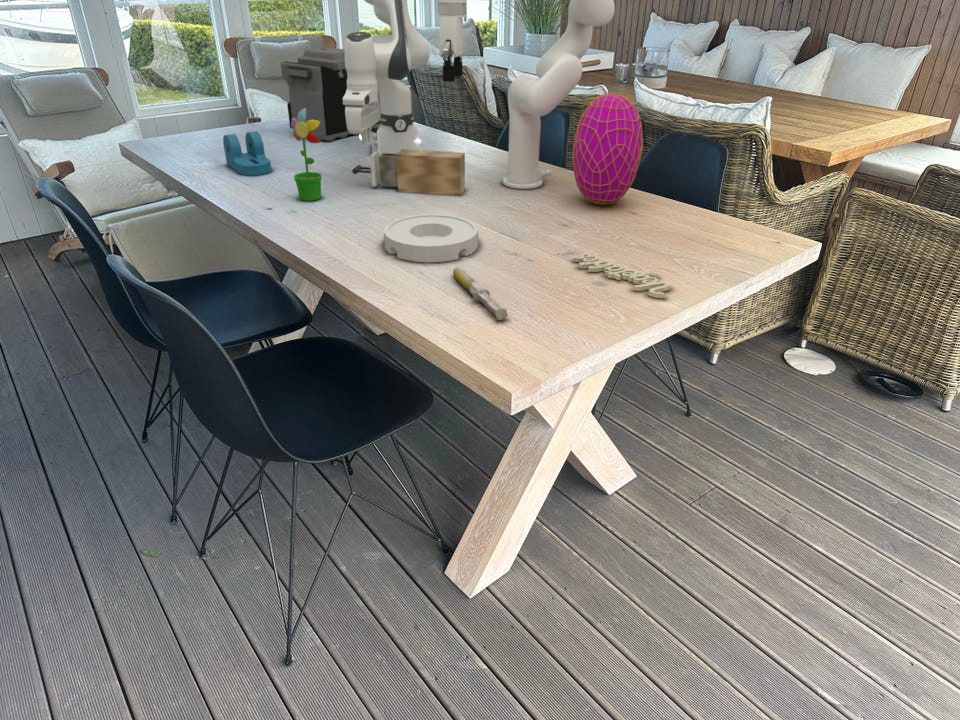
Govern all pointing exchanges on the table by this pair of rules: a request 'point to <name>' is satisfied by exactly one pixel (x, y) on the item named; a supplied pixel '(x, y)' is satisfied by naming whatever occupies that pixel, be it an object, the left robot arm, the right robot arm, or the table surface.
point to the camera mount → (246, 154)
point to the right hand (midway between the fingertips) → (452, 78)
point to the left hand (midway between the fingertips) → (366, 142)
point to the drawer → (381, 169)
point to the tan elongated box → (431, 172)
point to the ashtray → (431, 237)
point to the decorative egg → (607, 148)
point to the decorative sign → (625, 274)
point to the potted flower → (307, 180)
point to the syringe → (479, 293)
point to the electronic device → (319, 91)
